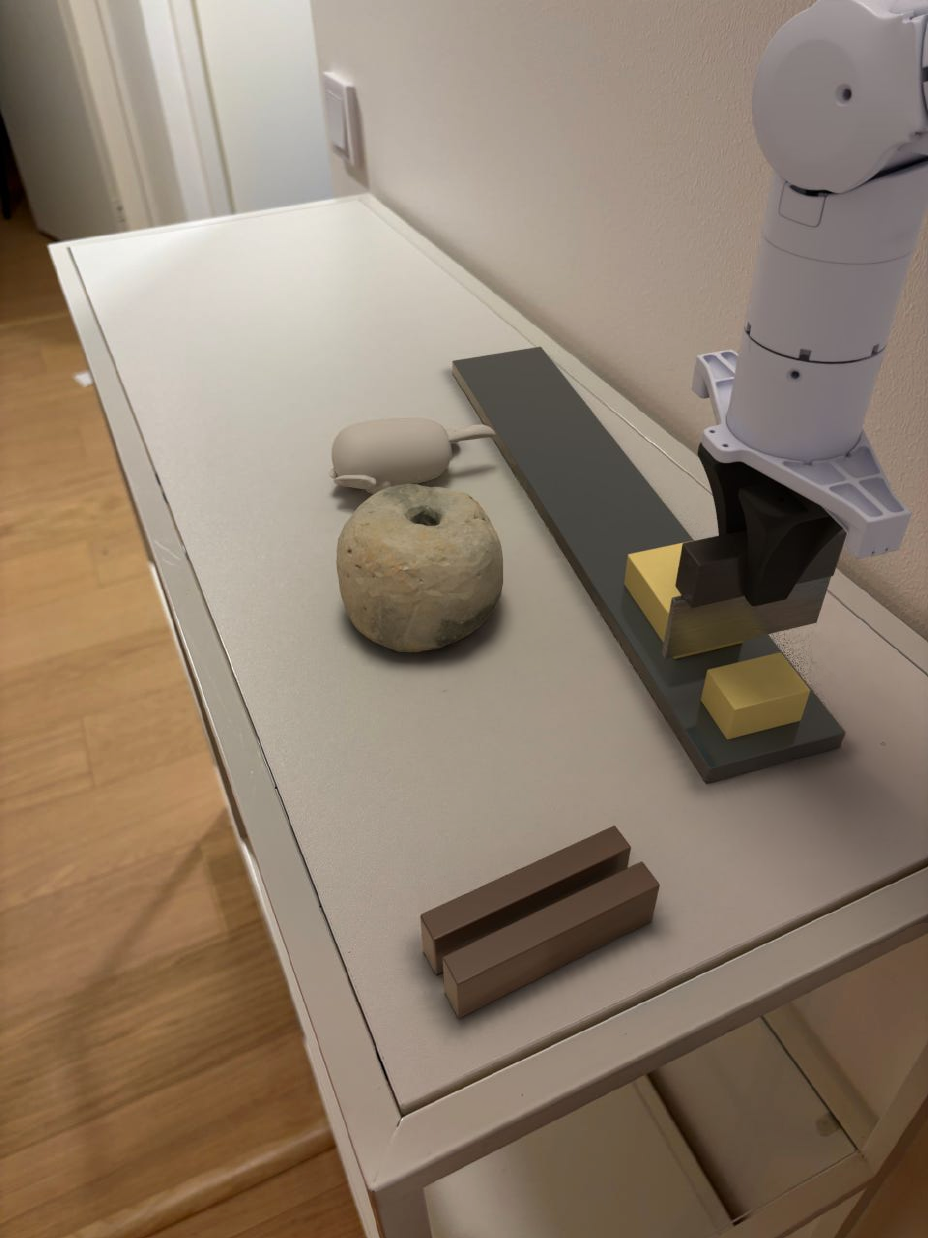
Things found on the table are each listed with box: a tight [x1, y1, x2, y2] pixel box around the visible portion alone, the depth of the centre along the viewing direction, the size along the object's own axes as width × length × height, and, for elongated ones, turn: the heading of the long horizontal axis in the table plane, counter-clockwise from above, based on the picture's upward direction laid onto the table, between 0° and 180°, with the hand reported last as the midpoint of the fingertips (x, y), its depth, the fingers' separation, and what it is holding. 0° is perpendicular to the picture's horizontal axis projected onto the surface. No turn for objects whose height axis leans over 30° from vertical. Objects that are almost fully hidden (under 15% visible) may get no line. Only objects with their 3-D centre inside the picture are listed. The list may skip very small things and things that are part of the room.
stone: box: [335, 483, 504, 654], centre depth 58 cm, size 10×10×10 cm
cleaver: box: [662, 529, 848, 659], centre depth 49 cm, size 2×9×7 cm, turn 107°
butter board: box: [451, 346, 847, 784], centre depth 67 cm, size 46×8×1 cm, turn 17°
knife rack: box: [419, 825, 661, 1019], centre depth 43 cm, size 4×10×3 cm, turn 117°
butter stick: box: [624, 541, 743, 659], centre depth 58 cm, size 7×4×2 cm, turn 17°
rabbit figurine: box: [328, 417, 496, 495], centre depth 70 cm, size 6×5×12 cm
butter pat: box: [701, 652, 810, 739], centre depth 52 cm, size 3×4×2 cm
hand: (754, 583), depth 49 cm, fingers closed on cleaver, 2 cm apart
